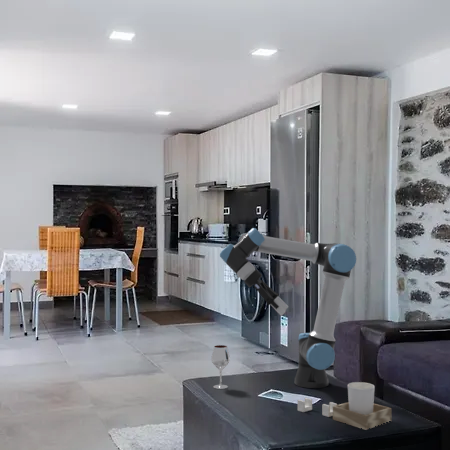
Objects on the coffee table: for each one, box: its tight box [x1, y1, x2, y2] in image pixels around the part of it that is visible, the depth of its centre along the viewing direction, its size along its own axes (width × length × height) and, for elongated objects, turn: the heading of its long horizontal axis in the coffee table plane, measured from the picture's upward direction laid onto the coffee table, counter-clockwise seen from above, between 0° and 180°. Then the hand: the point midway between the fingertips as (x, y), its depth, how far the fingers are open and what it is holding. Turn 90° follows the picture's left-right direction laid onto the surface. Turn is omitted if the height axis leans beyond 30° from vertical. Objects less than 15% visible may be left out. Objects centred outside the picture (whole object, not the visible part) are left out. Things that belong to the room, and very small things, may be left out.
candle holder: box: [347, 381, 375, 415], centre depth 225 cm, size 10×10×12 cm
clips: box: [297, 397, 338, 418], centre depth 234 cm, size 8×13×4 cm, turn 39°
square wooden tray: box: [332, 401, 392, 431], centre depth 225 cm, size 15×15×5 cm
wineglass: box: [211, 344, 231, 390], centre depth 271 cm, size 8×8×18 cm
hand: (285, 311), depth 256 cm, fingers open, 13 cm apart
